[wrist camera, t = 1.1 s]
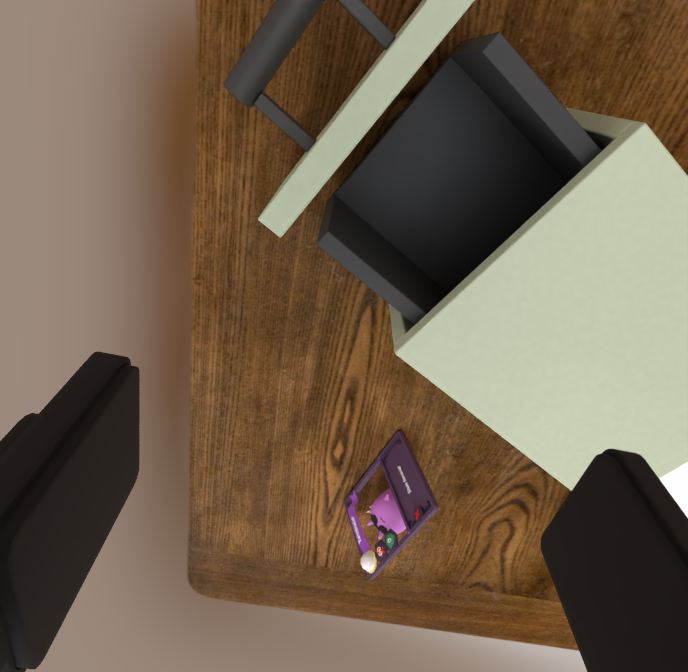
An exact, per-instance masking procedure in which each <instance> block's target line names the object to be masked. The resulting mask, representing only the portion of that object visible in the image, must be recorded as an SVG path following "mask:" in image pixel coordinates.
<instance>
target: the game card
mask: <svg viewBox="0 0 688 672" xmlns="http://www.w3.org/2000/svg"><path fill="white" fill-rule="evenodd" d="M380 465H381V466H382V469H383V471H384V474H385V476H386V479H387V481H388V484H389V486H390V488H389V489H388V490H386V491H385V492H384V493H382V494H381V495H380V496H379V497H378V498H377V499H376V500H375V501H374V503H373V505H372V506H370V507H369V508H371V510H369V511H367V513H371V521H370V522H369V523H368V524H367V526H370V525H372V524H374V525H375V526H376V527H377V528H378V529H379V530H380V533H379V537H378V539H381V538H382V536H383V534H385V543H384V542H383V541H382V540H380V541H379V542H378V543H377V544H376V545H375V554H374V552H373V551H372V550H371V548H370V546H369V544H368V542H367V540H366V538H365V536H364V533H363V531H362V528H361V525H360V523H359V520H358V517H357V514H356V511H355V507H354V506H355V505H356V503H357V502H358V498H357V494H358V493H359V492H360V491H361V489H362V488H363V487H364V485H365V484H366V483H367V482H368V480H369V479H370V478H371V476H372V475H373V474H374V473H375V471H376V470H377V469H378V467H379V466H380ZM351 502H353V503H352V504H351ZM344 504H345V507H346V511H347V514H348V517H349V520H350V524H351V527H352V530H353V533H354V537H355V540H356V543H357V546H358V550H359V553H360V556H361V566H362V567H363V569H364V570H365V572H366V576H367V578H368V579H374V578H375V577H376V576H377V575H378V574H379V573H380V572H381V571H382V570H383V569H384V568H385V566H386V565H387V564H388V563H389V562H390V561H391V560H392V559H393V558H394V557H395V556H396V555H397V554H398V552H399V551H400V550H401V549H402V548H403V547H404V546H405V545H406V544H407V543H408V542H409V541H410V540H411V538H412V537H413V536H414V535H415V534H416V533H417V532H418V531H419V530H420V529H421V528H422V527H423V525H424V524H425V523H426V522H427V521H428V520H429V519H430V518H431V517H432V516H433V515H434V514H435V513H436V511H437V510H438V508H439V506H438V504H437V502H436V499H435V497H434V495H433V493H432V491H431V489H430V487H429V485H428V483H427V481H426V478H425V476H424V474H423V472H422V470H421V468H420V466H419V464H418V462H417V460H416V457H415V455H414V453H413V451H412V449H411V447H410V445H409V443H408V441H407V439H406V436H405V434H404V432H401V431H397V433H396V434H395V435H394V436H393V438H392V439H391V440H390V442H389V443H388V444H387V446H386V447H385V448H384V450H383V451H382V452H381V453H380V455H379V456H378V457H377V459H376V460H375V461H374V463H373V464H372V465H371V467H370V468H369V469H368V470H367V472H366V473H365V474H364V476H363V477H362V478H361V480H360V481H359V482H358V483H357V485H356V486H355V487H354V489H353V490H352V491H351V493H350V494H349V495H348V497H347V498H346V499H345V501H344ZM405 529H407V534H406V535H405V536H404V537H403V538H402V539H401V540H400V541H399V543H398V541H397V535H398V534H399V533H401V532H402V531H404V530H405ZM387 549H388V550H389V551H390V552H389V554H388V555H387ZM376 558H377V559H378V560H379V561H380V563H379V564H378V566H377V567H376V564H377V561H376Z"/></svg>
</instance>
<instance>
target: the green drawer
mask: <svg viewBox="0 0 688 672" xmlns="http://www.w3.org/2000/svg"><path fill="white" fill-rule="evenodd" d="M324 1H325V0H276V2H275V3H274V5H273V6H272V8H271V10H270V11H269V13H268V14H267V16H266V17H265V19H264V21H263V22H262V24H261V25H260V27H259V28H258V30H257V31H256V33H255V35H254V36H253V38H252V39H251V41H250V42H249V44H248V46H247V47H246V49H245V50H244V52H243V53H242V55H241V57H240V58H239V60H238V61H237V63H236V64H235V66H234V68H233V69H232V71H231V72H230V74H229V75H228V77H227V79H226V80H225V82H224V86H225V88H226V89H227V90H228V91H229V92H230V93H231V94H232V95H233V96H234V97H235V98H236V99H237V100H239V101H240V102H241V103H243V104H244V105H246V106H248V107H252V106H253V105H254V106H255V107H257V108H258V109H259V110H260V111H261V112H262V113H263V114H264V115H266V116H267V117H268V118H269V119H270V120H271V121H272V122H273V123H275V124H276V125H277V126H278V127H279V128H280V129H281V130H282V131H284V132H285V133H286V134H287V135H288V136H289V137H290V138H291V139H293V140H294V141H295V142H296V143H297V144H298V145H299V146H301V147H302V148H303V149H304V150H305V151H306V152H305V154H304V155H303V156H302V157H301V159H300V160H299V161H298V163H297V164H296V165H295V167H294V168H293V169H292V170H291V172H290V173H289V174H288V176H287V177H286V178H285V180H284V181H283V183H282V184H281V186H280V187H279V188H278V190H277V191H276V193H275V194H274V196H273V197H272V199H271V200H270V202H269V203H268V205H267V206H266V208H265V209H264V211H263V212H262V214H261V215H260V217H259V218H258V220H259V221H260V222H261V223H263V224H264V225H265V226H266V227H268V228H269V229H270V230H271V231H273V232H274V233H275V234H276V235H278V236H279V237H282V236H283V235H284V234H285V232H286V231H287V230H288V229H289V227H290V226H291V225H292V224H293V223H294V221H295V220H296V219H297V218H298V216H299V215H300V214H301V213H302V211H303V210H304V209H305V208H306V207H307V205H308V204H309V203H310V202H311V200H312V199H313V198H314V197H315V196H316V194H317V193H318V192H319V191H320V189H321V188H322V187H323V186H324V185H325V183H326V182H327V181H328V180H329V178H330V177H331V176H332V175H333V173H334V172H335V171H336V170H337V169H338V167H339V166H340V165H341V164H342V162H343V161H344V160H345V159H346V158H347V156H348V155H349V154H350V153H351V151H352V150H353V149H354V148H355V147H356V145H357V144H358V143H359V142H360V140H361V139H362V138H363V137H364V135H365V134H366V133H367V132H368V131H369V129H370V128H371V127H372V126H373V124H374V123H375V122H376V121H377V120H378V118H379V117H380V116H381V115H382V113H383V112H384V111H385V110H386V108H387V107H388V106H389V105H390V104H391V102H392V101H393V100H394V99H395V97H396V96H397V95H398V94H399V93H400V91H401V90H402V89H403V88H404V86H405V85H406V84H407V83H408V82H409V80H410V79H411V78H412V77H413V75H414V74H415V73H416V72H417V70H418V69H419V68H420V67H421V66H422V64H423V63H424V62H425V61H426V59H427V58H428V57H429V56H430V55H431V53H432V52H433V51H434V50H435V48H436V47H437V46H438V45H439V44H440V42H441V41H442V40H443V39H444V37H445V36H446V35H447V34H448V32H449V31H450V30H451V29H452V28H453V26H454V25H455V24H456V23H457V21H458V20H459V19H460V18H461V17H462V15H463V14H464V13H465V12H466V10H467V9H468V8H469V7H470V5H471V4H472V3H473V2H474V1H475V0H422V1H421V3H420V4H419V5H418V7H417V8H416V9H415V10H414V12H413V13H412V14H411V16H410V17H409V18H408V20H407V21H406V22H405V23H404V25H403V26H402V27H401V29H400V30H399V31H398V33H397V34H396V35H394V34H393V33H392V31H391V30H390V29H389V28H388V27H387V26H386V25H385V24H384V23H383V22H382V21H381V20H380V19H379V18H378V17H377V16H376V15H375V13H374V12H373V11H372V10H371V9H370V8H369V7H368V6H367V5H366V4H365V3H364V2H363V1H362V0H337V1H338V2H339V3H340V4H341V5H342V6H343V7H344V8H345V9H346V11H347V12H348V13H349V14H350V15H351V16H352V17H353V18H354V19H355V20H356V21H357V22H358V23H359V24H360V25H361V26H362V27H363V28H364V29H365V30H366V31H367V32H368V33H369V34H370V35H371V36H372V37H373V38H374V40H375V41H376V42H377V43H378V44H379V45H380V46H381V47H382V48H383V49H384V51H383V52H382V53H381V55H380V56H379V57H378V59H377V60H376V61H375V62H374V64H373V65H372V66H371V68H370V69H369V70H368V72H367V73H366V74H365V75H364V77H363V78H362V79H361V81H360V82H359V83H358V85H357V86H356V87H355V89H354V90H353V91H352V92H351V94H350V95H349V96H348V98H347V99H346V100H345V102H344V103H343V104H342V105H341V107H340V108H339V109H338V111H337V112H336V113H335V115H334V116H333V117H332V118H331V120H330V121H329V122H328V124H327V125H326V126H325V128H324V129H323V130H322V131H321V133H320V134H319V135H318V137H317V138H316V139H315V138H314V137H313V136H312V135H311V134H310V133H309V132H308V131H306V130H305V129H304V128H303V127H302V126H301V125H300V124H299V123H298V122H296V121H295V120H294V119H293V118H292V117H291V116H290V115H289V114H288V113H286V112H285V111H284V110H283V109H282V108H281V107H280V106H279V105H278V104H277V103H275V102H274V101H273V100H272V99H271V98H270V97H269V96H268V95H267V94H265V93H264V92H263V90H264V89H265V87H266V86H267V84H268V83H269V82H270V80H271V79H272V77H273V76H274V74H275V73H276V71H277V70H278V68H279V67H280V65H281V64H282V62H283V61H284V59H285V58H286V57H287V55H288V54H289V52H290V51H291V49H292V48H293V46H294V45H295V43H296V42H297V40H298V39H299V37H300V36H301V35H302V33H303V32H304V30H305V29H306V27H307V26H308V24H309V23H310V21H311V20H312V18H313V17H314V15H315V14H316V13H317V11H318V10H319V8H320V7H321V5H322V4H323V2H324ZM262 92H263V93H262ZM601 152H602V150H601V149H600V148H599V147H598V146H597V145H596V143H595V142H594V141H593V140H592V139H591V138H590V136H589V135H588V134H587V133H586V132H585V131H584V129H583V128H582V127H581V126H580V125H579V124H578V122H577V121H576V120H575V119H574V118H573V117H572V115H571V114H570V113H569V112H568V111H567V110H566V108H565V107H564V106H563V105H562V104H561V103H560V101H559V100H558V99H557V98H556V97H555V95H554V94H553V93H552V92H551V91H550V90H549V88H548V87H547V86H546V85H545V84H544V83H543V81H542V80H541V79H540V78H539V77H538V76H537V74H536V73H535V72H534V71H533V70H532V69H531V67H530V66H529V65H528V64H527V63H526V62H525V60H524V59H523V58H522V57H521V56H520V55H519V53H518V52H517V51H516V50H515V49H514V48H513V46H512V45H511V44H510V43H509V42H508V41H507V39H506V38H505V37H504V36H503V35H502V33H501V32H497V33H493V34H489V35H485V36H481V37H477V38H473V39H470V40H466V41H463V42H460V43H459V44H458V45H457V46H456V47H455V49H454V50H453V51H452V52H451V53H450V54H449V56H448V57H447V58H446V59H445V60H444V62H443V63H442V64H441V65H440V66H439V68H438V69H437V70H436V71H435V72H434V74H433V75H432V76H431V77H430V78H429V80H428V81H427V82H426V83H425V84H424V86H423V87H422V88H421V89H420V90H419V92H418V93H417V94H416V95H415V96H414V98H413V99H412V100H411V101H410V102H409V104H408V105H407V106H406V107H405V108H404V110H403V111H402V112H401V113H400V114H399V116H398V117H397V118H396V119H395V120H394V122H393V123H392V124H391V125H390V126H389V128H388V129H387V130H386V131H385V132H384V134H383V135H382V136H381V137H380V138H379V140H378V141H377V142H376V143H375V144H374V146H373V147H372V148H371V149H370V150H369V152H368V153H367V154H366V155H365V156H364V158H363V159H362V160H361V161H360V162H359V164H358V165H357V166H356V167H355V168H354V170H353V171H352V172H351V173H350V174H349V176H348V177H347V178H346V179H345V180H344V182H343V183H342V184H341V185H340V186H339V188H338V189H337V190H336V191H335V192H334V194H333V195H332V196H331V197H330V198H329V200H328V201H327V204H326V208H325V212H324V216H323V220H322V224H321V228H320V232H319V236H318V240H317V245H318V246H319V247H320V248H321V249H323V250H324V251H325V252H326V253H327V254H329V255H330V256H331V257H332V258H334V259H335V260H336V261H337V262H338V263H340V264H341V265H342V266H343V267H345V268H346V269H347V270H348V271H350V272H351V273H352V274H353V275H354V276H356V277H357V278H358V279H359V280H361V281H362V282H363V283H364V284H365V285H367V286H368V287H369V288H370V289H372V290H373V291H374V292H375V293H376V294H378V295H379V296H380V297H381V298H383V299H384V300H385V301H386V302H387V303H389V304H390V305H391V306H392V307H394V308H395V309H396V310H397V311H398V312H400V313H401V314H402V315H403V316H405V317H406V318H407V319H408V320H409V321H411V322H412V323H413V324H414V325H416V324H417V323H418V322H419V321H420V320H421V319H422V318H423V317H424V316H425V315H426V314H427V313H429V312H430V311H431V310H432V309H433V308H434V307H435V306H436V305H437V304H438V303H439V302H440V301H441V300H442V299H444V298H445V297H446V296H447V295H448V294H449V293H450V292H451V291H452V290H453V289H454V288H455V287H456V286H458V285H459V284H460V283H461V282H462V281H463V280H464V279H465V278H466V277H467V276H468V275H469V274H470V273H472V272H473V271H474V270H475V269H476V268H477V267H478V266H479V265H480V264H481V263H482V262H483V261H484V260H485V259H487V258H488V257H489V256H490V255H491V254H492V253H493V252H494V251H495V250H496V249H497V248H498V247H499V246H501V245H502V244H503V243H504V242H505V241H506V240H507V239H508V238H509V237H510V236H511V235H512V234H513V233H515V232H516V231H517V230H518V229H519V228H520V227H521V226H522V225H523V224H524V223H525V222H526V221H527V220H528V219H530V218H531V217H532V216H533V215H534V214H535V213H536V212H537V211H538V210H539V209H540V208H541V207H542V206H544V205H545V204H546V203H547V202H548V201H549V200H550V199H551V198H552V197H553V196H554V195H555V194H556V193H558V192H559V191H560V190H561V189H562V188H563V187H564V186H565V185H566V184H567V183H568V182H569V181H570V180H571V179H573V178H574V177H575V176H576V175H577V174H578V173H579V172H580V171H581V170H582V169H583V168H584V167H585V166H587V165H588V164H589V163H590V162H591V161H592V160H593V159H594V158H595V157H596V156H597V155H598V154H599V153H601Z"/></svg>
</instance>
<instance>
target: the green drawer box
mask: <svg viewBox="0 0 688 672" xmlns="http://www.w3.org/2000/svg"><path fill="white" fill-rule="evenodd" d="M566 110H567V111H568V112H569V113H570V114H571V115H572V117H573V118H574V119H575V120H576V121H577V122H578V124H579V125H580V126H581V127H582V128H583V129H584V131H585V132H586V133H587V134H588V135H589V136H590V138H591V139H592V140H593V141H594V142H595V143H596V145H597V146H598V147H599V148H600V149H601V150H602V152H601V153H599V154H598V155H597V156H596V157H595V158H594V159H593V160H592V161H591V162H590V163H589V164H588V165H587V166H585V167H584V168H583V169H582V170H581V171H580V172H579V173H578V174H577V175H576V176H575V177H574V178H573V179H571V180H570V181H569V182H568V183H567V184H566V185H565V186H564V187H563V188H562V189H561V190H560V191H559V192H558V193H556V194H555V195H554V196H553V197H552V198H551V199H550V200H549V201H548V202H547V203H546V204H545V205H544V206H542V207H541V208H540V209H539V210H538V211H537V212H536V213H535V214H534V215H533V216H532V217H531V218H530V219H528V220H527V221H526V222H525V223H524V224H523V225H522V226H521V227H520V228H519V229H518V230H517V231H516V232H515V233H513V234H512V235H511V236H510V237H509V238H508V239H507V240H506V241H505V242H504V243H503V244H502V245H501V246H499V247H498V248H497V249H496V250H495V251H494V252H493V253H492V254H491V255H490V256H489V257H488V258H487V259H485V260H484V261H483V262H482V263H481V264H480V265H479V266H478V267H477V268H476V269H475V270H474V271H473V272H472V273H470V274H469V275H468V276H467V277H466V278H465V279H464V280H463V281H462V282H461V283H460V284H459V285H458V286H456V287H455V288H454V289H453V290H452V291H451V292H450V293H449V294H448V295H447V296H446V297H445V298H444V299H442V300H441V301H440V302H439V303H438V304H437V305H436V306H435V307H434V308H433V309H432V310H431V311H430V312H429V313H427V314H426V315H425V316H424V317H423V318H422V319H421V320H420V321H419V322H418V323H417V324H416V325H414V324H413V323H412V322H411V321H409V320H408V319H407V318H406V317H405V316H403V315H402V314H401V313H400V312H398V311H397V310H396V309H395V308H394V307H392V306H391V305H390V304H389V309H390V318H391V326H392V334H393V342H394V352H395V354H396V355H397V356H399V357H400V358H401V359H402V360H404V361H405V362H406V363H408V364H409V365H410V366H411V367H413V368H414V369H415V370H417V371H418V372H419V373H420V374H422V375H423V376H424V377H426V378H427V379H428V380H429V381H431V382H432V383H433V384H435V385H436V386H437V387H438V388H440V389H441V390H442V391H444V392H445V393H446V394H447V395H449V396H450V397H451V398H453V399H454V400H455V401H456V402H458V403H459V404H460V405H462V406H463V407H464V408H466V409H467V410H468V411H469V412H471V413H472V414H473V415H475V416H476V417H477V418H478V419H480V420H481V421H482V422H484V423H485V424H486V425H487V426H489V427H490V428H491V429H493V430H494V431H495V432H496V433H498V434H499V435H500V436H502V437H503V438H504V439H505V440H507V441H508V442H509V443H511V444H512V445H513V446H514V447H516V448H517V449H518V450H520V451H521V452H522V453H523V454H525V455H526V456H527V457H529V458H530V459H531V460H532V461H534V462H535V463H536V464H538V465H539V466H540V467H541V468H543V469H544V470H545V471H547V472H548V473H549V474H550V475H552V476H553V477H554V478H556V479H557V480H558V481H559V482H561V483H562V484H563V485H565V486H566V487H567V488H568V489H570V490H571V491H572V490H573V488H574V487H575V485H576V484H577V482H578V481H579V479H580V478H581V476H582V475H583V473H584V472H585V470H586V469H587V468H588V466H589V465H590V463H591V462H592V460H593V459H594V457H595V456H596V455H598V454H602V453H603V452H604V451H605V450H607V449H617V450H623V451H628V452H633V453H637V454H639V455H641V456H642V457H643V458H644V459H645V460H646V461H647V463H648V464H649V466H650V467H651V468H652V470H653V471H654V472H655V474H656V475H657V476H658V478H661V477H662V476H664V475H666V474H668V473H669V472H671V471H673V470H674V469H676V468H678V467H680V466H681V465H683V464H685V463H686V462H688V176H687V174H686V173H685V172H684V170H683V169H682V168H681V167H680V165H679V164H678V163H677V162H676V160H675V159H674V158H673V157H672V155H671V154H670V153H669V152H668V150H667V149H666V148H665V147H664V145H663V144H662V143H661V142H660V140H659V139H658V138H657V136H656V135H655V134H654V133H653V131H652V130H651V129H650V128H649V126H648V125H647V124H646V123H643V122H638V121H632V120H627V119H622V118H616V117H611V116H606V115H601V114H596V113H591V112H586V111H580V110H575V109H570V108H566Z"/></svg>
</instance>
